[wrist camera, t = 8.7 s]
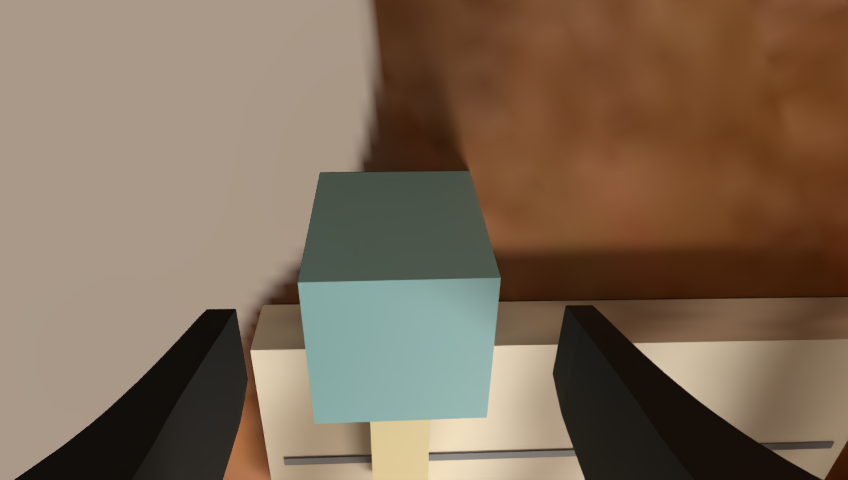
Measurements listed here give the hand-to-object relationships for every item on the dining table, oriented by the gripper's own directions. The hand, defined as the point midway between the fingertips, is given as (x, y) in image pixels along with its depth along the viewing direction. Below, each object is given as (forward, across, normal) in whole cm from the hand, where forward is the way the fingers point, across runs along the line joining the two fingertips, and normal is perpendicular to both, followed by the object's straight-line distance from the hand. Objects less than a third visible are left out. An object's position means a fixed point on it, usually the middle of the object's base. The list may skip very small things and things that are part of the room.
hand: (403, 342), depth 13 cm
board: (+4, -5, +7) cm, 10 cm away
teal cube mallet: (+5, 0, +3) cm, 5 cm away
